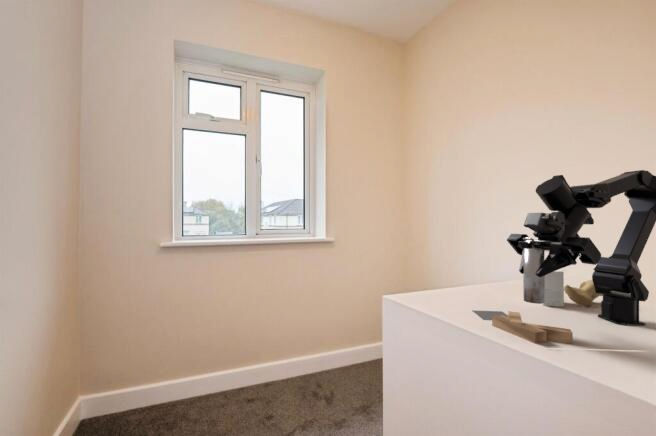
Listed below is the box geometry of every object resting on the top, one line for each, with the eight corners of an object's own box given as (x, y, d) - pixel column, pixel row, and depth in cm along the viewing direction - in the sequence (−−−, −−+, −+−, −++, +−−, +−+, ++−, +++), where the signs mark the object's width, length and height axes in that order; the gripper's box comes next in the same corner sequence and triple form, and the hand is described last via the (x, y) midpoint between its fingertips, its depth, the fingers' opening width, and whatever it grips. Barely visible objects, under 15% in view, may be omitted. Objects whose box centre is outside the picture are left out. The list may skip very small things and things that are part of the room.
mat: (501, 312, 85) (501, 311, 85) (517, 322, 77) (517, 320, 77) (471, 311, 85) (471, 310, 85) (483, 320, 77) (483, 319, 77)
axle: (532, 298, 73) (531, 247, 73) (549, 302, 69) (548, 249, 69) (519, 299, 71) (519, 248, 71) (535, 304, 68) (535, 249, 68)
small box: (564, 307, 90) (564, 271, 90) (542, 306, 91) (543, 270, 91) (550, 300, 98) (550, 267, 98) (530, 299, 99) (530, 266, 99)
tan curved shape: (561, 283, 96) (587, 270, 99) (558, 302, 98) (584, 289, 102) (591, 296, 88) (617, 282, 92) (587, 316, 91) (613, 302, 94)
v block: (513, 320, 78) (513, 310, 78) (578, 344, 63) (578, 332, 63) (484, 323, 75) (484, 313, 75) (545, 349, 60) (545, 336, 60)
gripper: (512, 202, 80) (477, 246, 77) (591, 198, 62) (550, 254, 59) (535, 232, 82) (503, 275, 79) (618, 236, 64) (580, 292, 61)
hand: (529, 274), depth 70 cm, fingers closed on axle, 4 cm apart
